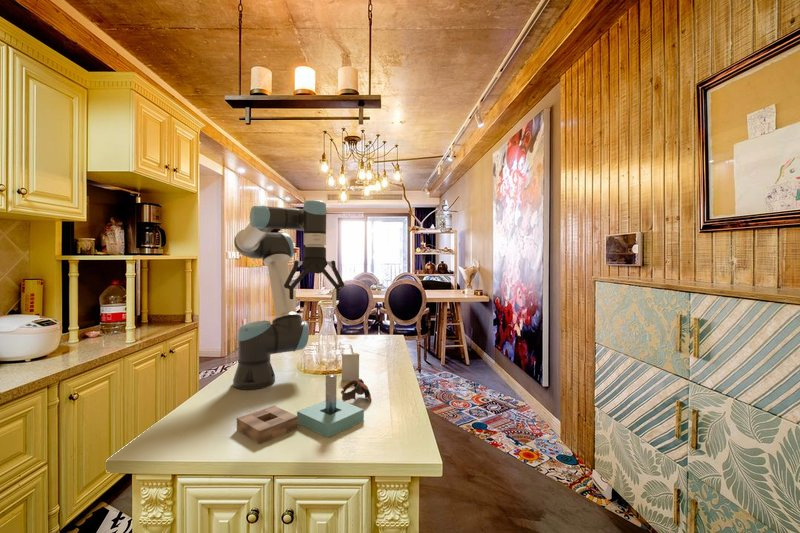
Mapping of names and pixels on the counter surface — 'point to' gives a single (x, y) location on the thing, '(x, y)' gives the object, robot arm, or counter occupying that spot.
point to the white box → (350, 366)
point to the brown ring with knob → (355, 390)
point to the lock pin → (331, 393)
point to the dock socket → (330, 418)
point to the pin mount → (267, 424)
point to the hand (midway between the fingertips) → (314, 308)
